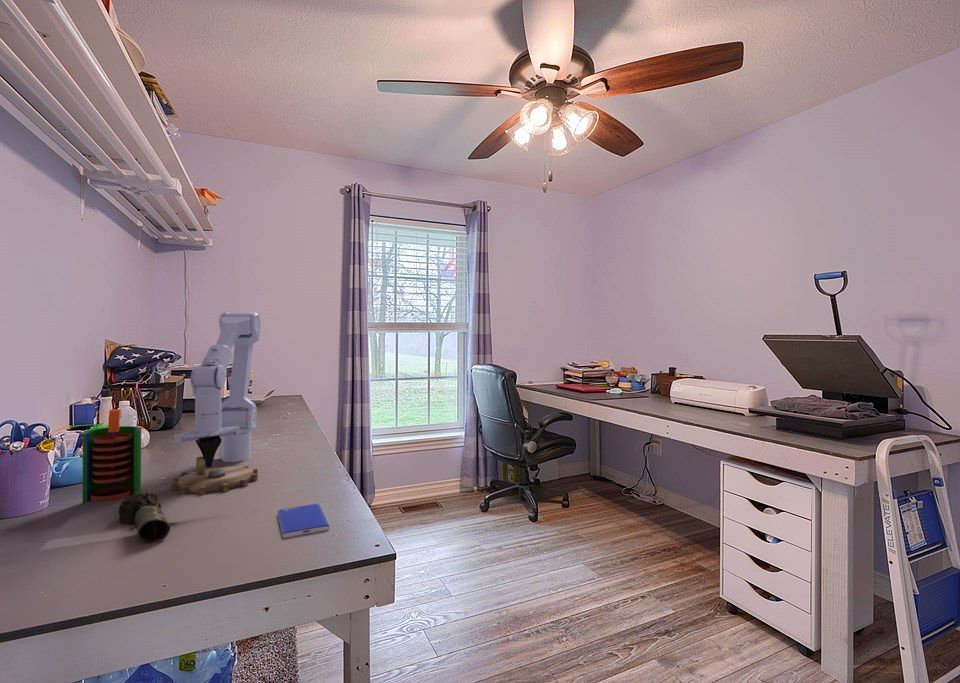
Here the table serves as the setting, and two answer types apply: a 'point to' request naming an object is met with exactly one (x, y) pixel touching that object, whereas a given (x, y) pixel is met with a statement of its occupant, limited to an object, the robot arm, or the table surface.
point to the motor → (111, 461)
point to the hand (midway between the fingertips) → (208, 467)
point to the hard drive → (302, 520)
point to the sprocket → (214, 478)
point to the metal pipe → (144, 516)
